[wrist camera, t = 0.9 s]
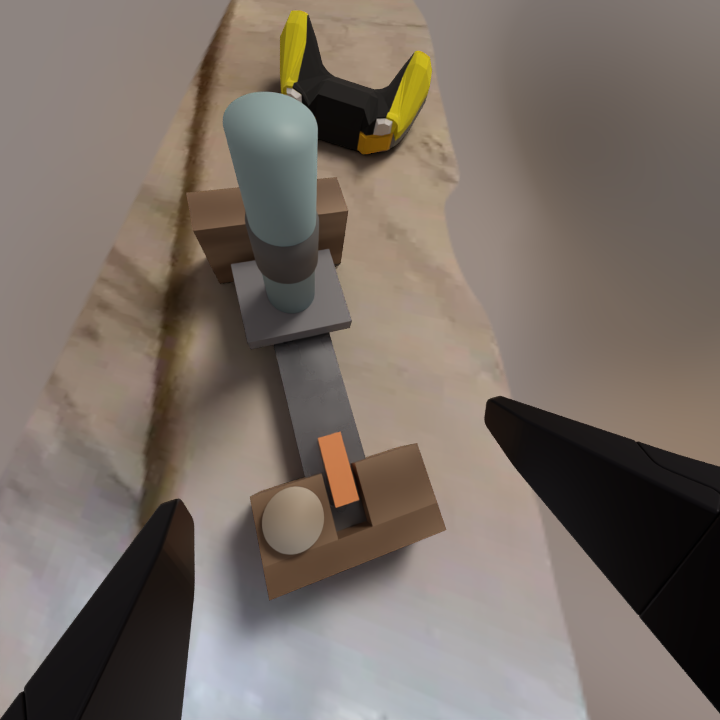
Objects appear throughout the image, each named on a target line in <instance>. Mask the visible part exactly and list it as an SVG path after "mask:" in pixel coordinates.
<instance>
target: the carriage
mask: <svg viewBox="0 0 720 720" xmlns="http://www.w3.org/2000/svg"><path fill="white" fill-rule="evenodd" d="M223 127H224V131H225V135H226V138H227V142H228V146H229V150H230V154H231V158H232V161H233V165H234V169H235V173H236V177H237V181H238V184H239V188H240V192H241V196H242V200H243V204H244V207H245V211H246V212H245V224H246V228H247V231H248V235H249V239H250V242H251V246H252V250H253V253H254V257H255V260H254V261H247V262H241V263H235V264H231V267H232V272H233V277H234V282H235V286H236V291H237V296H238V300H239V305H240V310H241V314H242V319H243V324H244V329H245V333H246V338H247V343H248V345H249V347H250V349H255V348H260V347H264V346H269V345H273V344H278V343H283V342H287V341H292V340H296V339H301V338H305V337H310V336H315V335H319V334H324V333H328V332H333V331H337V330H342V329H347V328H350V325H351V322H352V320H351V317H350V314H349V310H348V307H347V304H346V301H345V298H344V295H343V291H342V288H341V285H340V282H339V279H338V276H337V272H336V269H335V266H334V263H333V260H332V256H331V253H330V250H329V249H324V250H318V241H319V217H318V213H317V211H316V196H317V142H318V127H317V122H316V119H315V117H314V115H313V114H312V112H311V111H310V110H309V109H308V108H307V107H306V106H305V105H304V104H302V103H301V102H299V101H298V100H296V99H294V98H292V97H289V96H287V95H284V94H280V93H275V92H255V93H250V94H246V95H244V96H241V97H239V98H237V99H236V100H234V101H233V102H232V103H231V104H230V105H229V106H228V107H227V109H226V110H225V113H224V116H223Z"/></svg>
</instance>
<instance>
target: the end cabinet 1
mask: <svg viewBox="0 0 720 720" xmlns="http://www.w3.org/2000/svg"><path fill="white" fill-rule="evenodd" d="M186 194H187V199H188V205H189V210H190V216H191V222H192V227H193V231H194V233H195V235H196V237H197V239H198V241H199V243H200V245H201V247H202V249H203V251H204V253H205V255H206V257H207V259H208V261H209V263H210V265H211V267H212V269H213V271H214V273H215V275H216V277H217V279H218V281H219V283H220V284H221V283H227V282H233V281H234V277H233V272H232V267H231V264H235V263H241V262H247V261H254V260H255V257H254V253H253V250H252V246H251V242H250V239H249V235H248V231H247V228H246V224H245V212H246V211H245V207H244V204H243V200H242V196H241V192H240V188H239V187H238V188H228V189H219V190H209V191H200V192H190V193H186ZM316 211H317V213H318V217H319V241H318V250H324V249H329V250H330V253H331V256H332V260H333V263H334V264H339V263H341V257H342V250H343V243H344V237H345V230H346V223H347V216H348V209H347V206H346V203H345V200H344V197H343V194H342V191H341V188H340V186H339V183H338V180H337V177H333V178H324V179H317V196H316Z"/></svg>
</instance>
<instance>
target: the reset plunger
mask: <svg viewBox="0 0 720 720" xmlns="http://www.w3.org/2000/svg"><path fill="white" fill-rule="evenodd" d="M318 444H319V448H320V451H321V455H322V459H323V463H324V467H325V471H326V475H327V479H328V483H329V487H330V491H331V495H332V499H333V502H334V506H335V507H336V508H337V507H340V506H343V505H346V504H349V503H351V502H354V501H357V500H359V497H358V493H357V490H356V486H355V482H354V479H353V475H352V472H351V468H350V464H349V461H348V457H347V453H346V450H345V446H344V443H343V439H342V435H341V432H337V433H334V434H330V435H327V436H323V437H320V438H318Z"/></svg>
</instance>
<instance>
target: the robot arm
mask: <svg viewBox="0 0 720 720" xmlns="http://www.w3.org/2000/svg"><path fill="white" fill-rule="evenodd" d="M484 420H485V424H486V426H487V428H488V429H489V431H490V432H491V434H492V435H493V437H494V438H495V440H496V441H497V443H498V444H499V445H500V447H501V448H502V450H503V451H504V453H505V454H506V456H507V457H508V459H509V460H510V461H511V463H512V464H513V466H514V467H515V468H516V469H517V471H518V472H519V473H520V474H521V476H522V477H523V478H524V479H525V480H526V482H527V483H528V484H529V485H530V486H531V488H532V489H533V490H534V491H535V492H536V494H537V495H538V496H539V497H540V498H541V500H542V501H543V502H544V503H545V504H546V506H547V507H548V508H549V509H550V510H551V511H552V513H553V514H554V515H555V516H556V518H557V519H558V520H559V521H560V522H561V523H562V525H563V526H564V527H565V528H566V530H567V531H568V532H569V533H570V534H571V536H572V537H573V538H574V539H575V540H576V541H577V542H578V544H579V545H580V546H581V547H582V548H583V550H584V551H585V552H586V553H587V555H588V556H589V557H590V558H591V559H592V561H593V562H594V563H595V564H596V565H597V567H598V568H599V569H600V570H601V571H602V572H603V574H604V575H605V576H606V577H607V579H608V580H609V581H610V582H611V583H612V584H613V586H614V587H615V588H616V589H617V591H618V592H619V593H620V594H621V595H622V597H623V598H624V599H625V600H626V601H627V603H628V604H629V605H630V606H631V607H632V609H633V610H634V611H635V612H636V613H637V614H638V615H639V617H640V618H641V620H642V621H643V622H644V623H645V624H646V625H647V627H648V628H649V629H650V630H651V632H652V633H653V634H654V635H655V636H656V638H657V639H658V640H659V641H660V642H661V644H662V645H663V646H664V647H665V648H666V650H667V651H668V652H669V653H670V654H671V656H672V657H673V658H674V659H675V660H676V662H677V663H678V664H679V665H680V666H681V667H682V669H683V670H684V671H685V672H686V674H687V675H688V676H689V677H690V678H691V679H692V681H693V682H694V683H695V684H696V685H697V687H698V688H699V689H700V690H701V691H702V693H703V694H704V695H705V696H706V697H707V699H708V700H709V701H710V702H711V703H712V704H713V706H714V707H715V708H716V709H717V711H718V712H719V713H720V467H719V466H715V465H712V464H708V463H705V462H702V461H698V460H695V459H691V458H688V457H684V456H681V455H678V454H675V453H671V452H668V451H665V450H662V449H659V448H656V447H653V446H650V445H647V444H644V443H641V442H635V441H634V440H632V439H629V438H626V437H623V436H620V435H617V434H614V433H611V432H607V431H605V430H602V429H599V428H596V427H593V426H590V425H587V424H584V423H580V422H578V421H574V420H571V419H568V418H565V417H563V416H559V415H557V414H554V413H551V412H547V411H545V410H542V409H539V408H535V407H533V406H530V405H527V404H524V403H521V402H518V401H515V400H512V399H508V398H505V397H502V396H497V397H494V398H491V399H488V401H487V403H486V410H485V417H484ZM194 586H195V563H194V521H193V518H192V516H191V514H190V513H189V511H188V510H187V508H186V506H185V505H184V503H183V502H182V500H181V499H174V500H171V501H168V502H165V503H162V504H161V505H160V506H159V507H158V508H157V510H156V511H155V512H154V514H153V515H152V516H151V518H150V519H149V520H148V522H147V523H146V524H145V526H144V527H143V528H142V530H141V531H140V532H139V534H138V535H137V536H136V538H135V539H134V540H133V542H132V543H131V544H130V546H129V547H128V548H127V550H126V551H125V552H124V554H123V555H122V557H121V558H120V559H119V561H118V562H117V563H116V565H115V566H114V567H113V569H112V570H111V571H110V573H109V574H108V575H107V577H106V578H105V579H104V581H103V582H102V583H101V585H100V586H99V587H98V589H97V590H96V591H95V593H94V594H93V595H92V597H91V598H90V599H89V601H88V602H87V604H86V605H85V606H84V608H83V609H82V610H81V612H80V613H79V614H78V616H77V617H76V618H75V620H74V621H73V622H72V624H71V625H70V626H69V628H68V629H67V630H66V632H65V633H64V634H63V636H62V637H61V638H60V640H59V641H58V642H57V644H56V645H55V646H54V648H53V649H52V650H51V652H50V653H49V655H48V656H47V657H46V659H45V660H44V661H43V663H42V664H41V665H40V667H39V668H38V669H37V671H36V672H35V673H34V675H33V676H32V677H31V679H30V680H29V681H28V683H27V684H26V685H25V687H24V691H23V692H21V693H19V695H18V696H17V697H16V699H15V700H14V701H13V703H12V704H11V705H10V707H9V708H8V709H7V711H6V712H5V713H4V715H3V716H2V717H1V719H0V720H181V716H182V707H183V697H184V688H185V678H186V669H187V659H188V649H189V640H190V630H191V621H192V611H193V601H194Z"/></svg>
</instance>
